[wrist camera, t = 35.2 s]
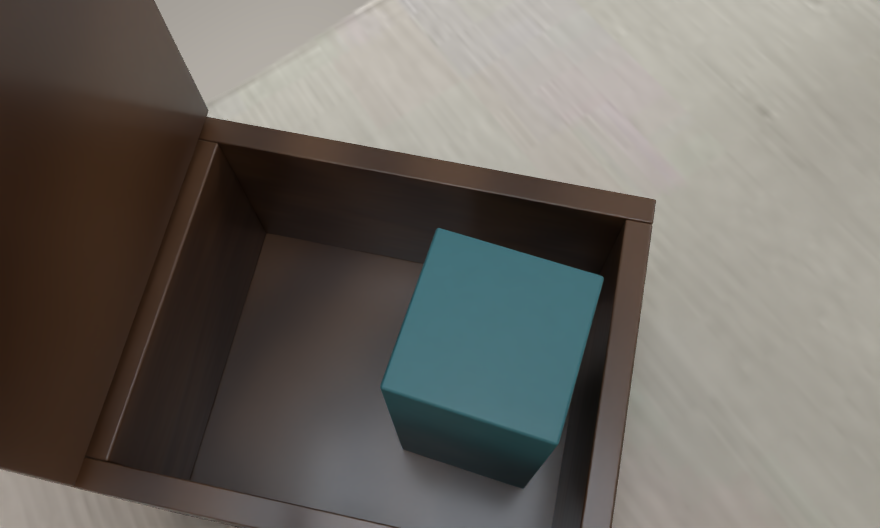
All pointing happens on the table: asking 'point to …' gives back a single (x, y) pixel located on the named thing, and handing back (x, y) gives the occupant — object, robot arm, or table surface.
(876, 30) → the table surface
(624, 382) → the chest
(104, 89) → the lid
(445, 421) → the block
